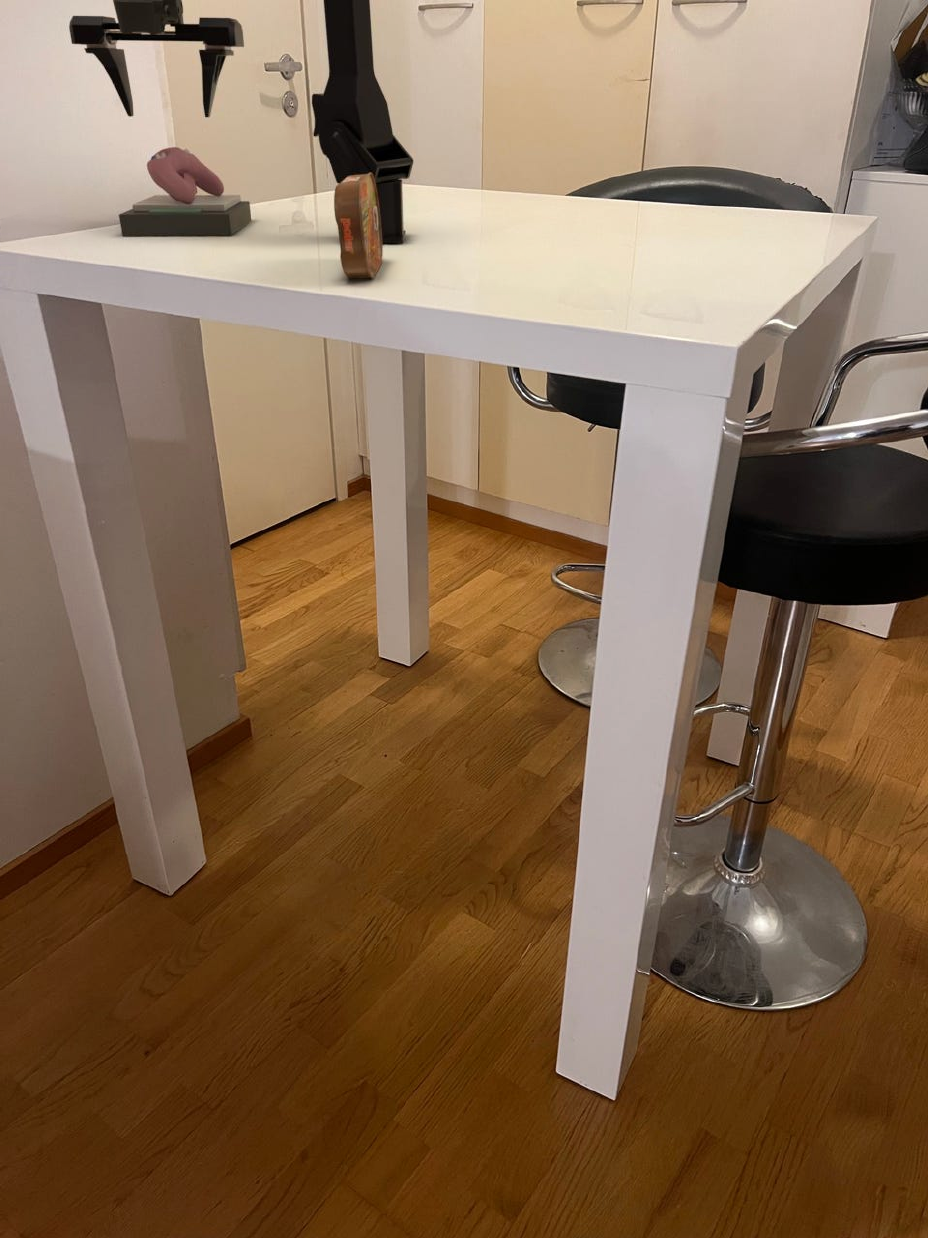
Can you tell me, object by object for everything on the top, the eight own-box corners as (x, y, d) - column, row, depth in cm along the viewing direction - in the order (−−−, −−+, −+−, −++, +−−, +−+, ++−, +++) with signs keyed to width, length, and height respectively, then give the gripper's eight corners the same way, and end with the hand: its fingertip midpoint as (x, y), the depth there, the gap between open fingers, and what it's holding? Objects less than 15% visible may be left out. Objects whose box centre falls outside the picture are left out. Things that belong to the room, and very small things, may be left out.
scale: (251, 220, 123) (248, 194, 121) (231, 235, 112) (228, 206, 110) (152, 221, 123) (148, 194, 121) (122, 235, 111) (117, 206, 110)
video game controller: (202, 207, 121) (171, 153, 119) (229, 190, 120) (199, 135, 117) (166, 217, 113) (132, 159, 110) (194, 199, 111) (161, 140, 109)
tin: (370, 285, 85) (364, 183, 81) (335, 285, 85) (328, 183, 81) (385, 257, 98) (381, 168, 94) (355, 257, 98) (350, 168, 94)
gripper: (37, -51, 98) (68, 118, 106) (216, -48, 98) (233, 120, 106) (74, -40, 108) (99, 114, 116) (237, -38, 108) (251, 116, 116)
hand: (169, 116), depth 113 cm, fingers open, 9 cm apart
